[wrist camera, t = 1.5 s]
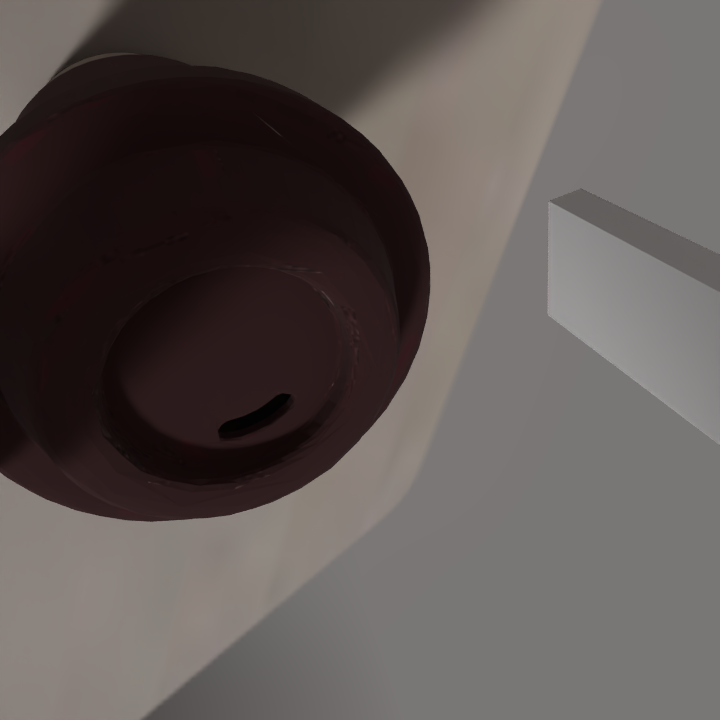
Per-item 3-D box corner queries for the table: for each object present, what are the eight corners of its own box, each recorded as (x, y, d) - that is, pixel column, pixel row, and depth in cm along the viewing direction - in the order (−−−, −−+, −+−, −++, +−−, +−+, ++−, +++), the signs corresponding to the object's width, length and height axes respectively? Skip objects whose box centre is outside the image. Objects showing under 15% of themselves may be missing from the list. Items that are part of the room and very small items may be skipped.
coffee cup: (-28, -40, 18) (-130, 8, 7) (289, 48, 23) (545, 163, 11) (-21, 272, 22) (-76, 617, 11) (242, 291, 27) (392, 546, 16)
